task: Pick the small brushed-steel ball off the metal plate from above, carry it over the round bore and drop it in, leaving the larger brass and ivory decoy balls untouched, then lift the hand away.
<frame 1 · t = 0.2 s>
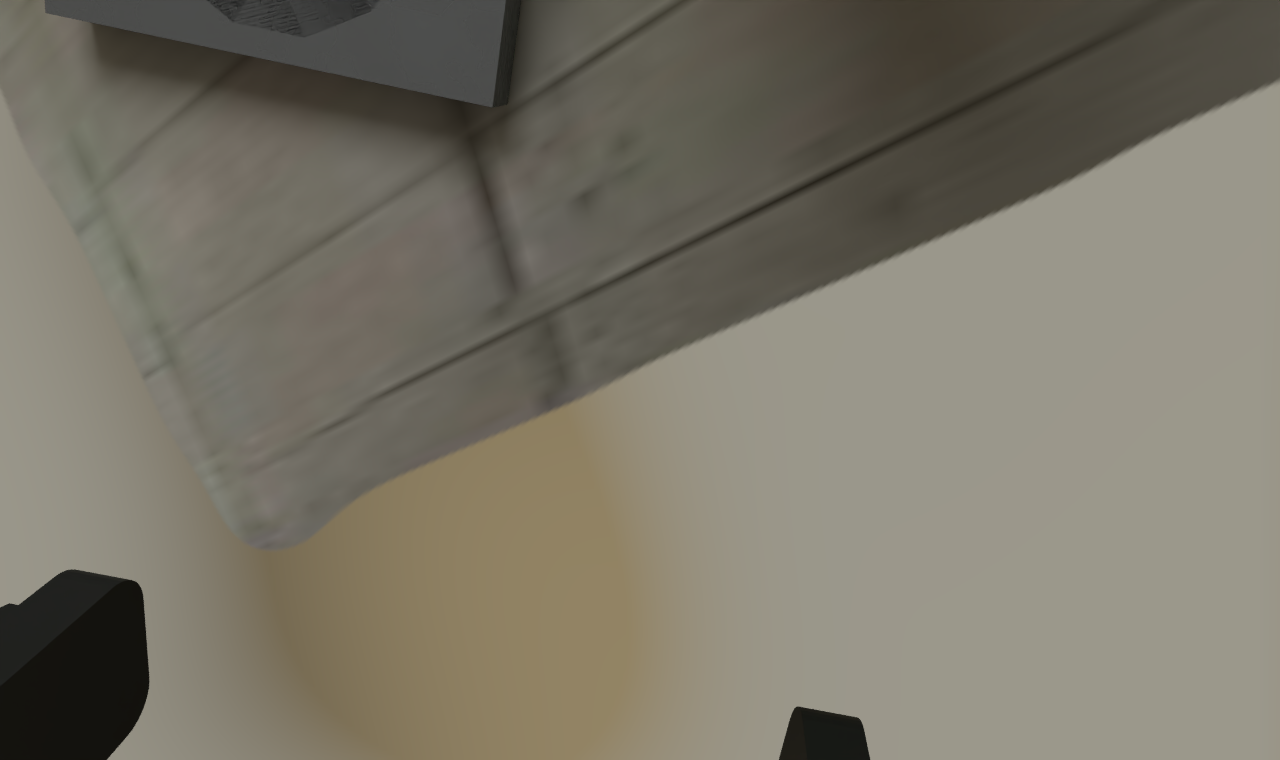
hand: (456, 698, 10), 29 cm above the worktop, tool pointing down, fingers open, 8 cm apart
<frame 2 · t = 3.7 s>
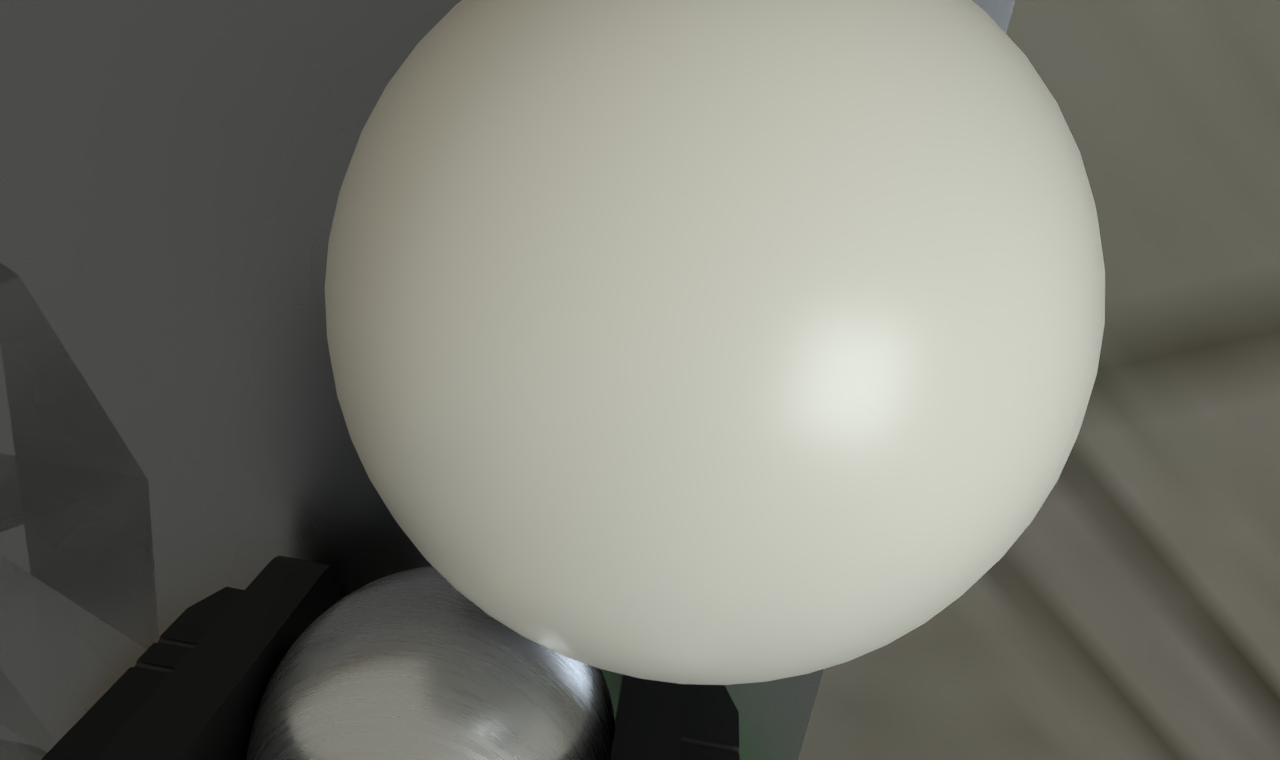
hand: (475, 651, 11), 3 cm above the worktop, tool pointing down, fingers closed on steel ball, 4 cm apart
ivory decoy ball: (702, 309, 7), point 5 cm above the worktop, touching plate
plate: (166, 471, 14), on the worktop
steel ball: (439, 746, 10), point 4 cm above the worktop, touching gripper, plate
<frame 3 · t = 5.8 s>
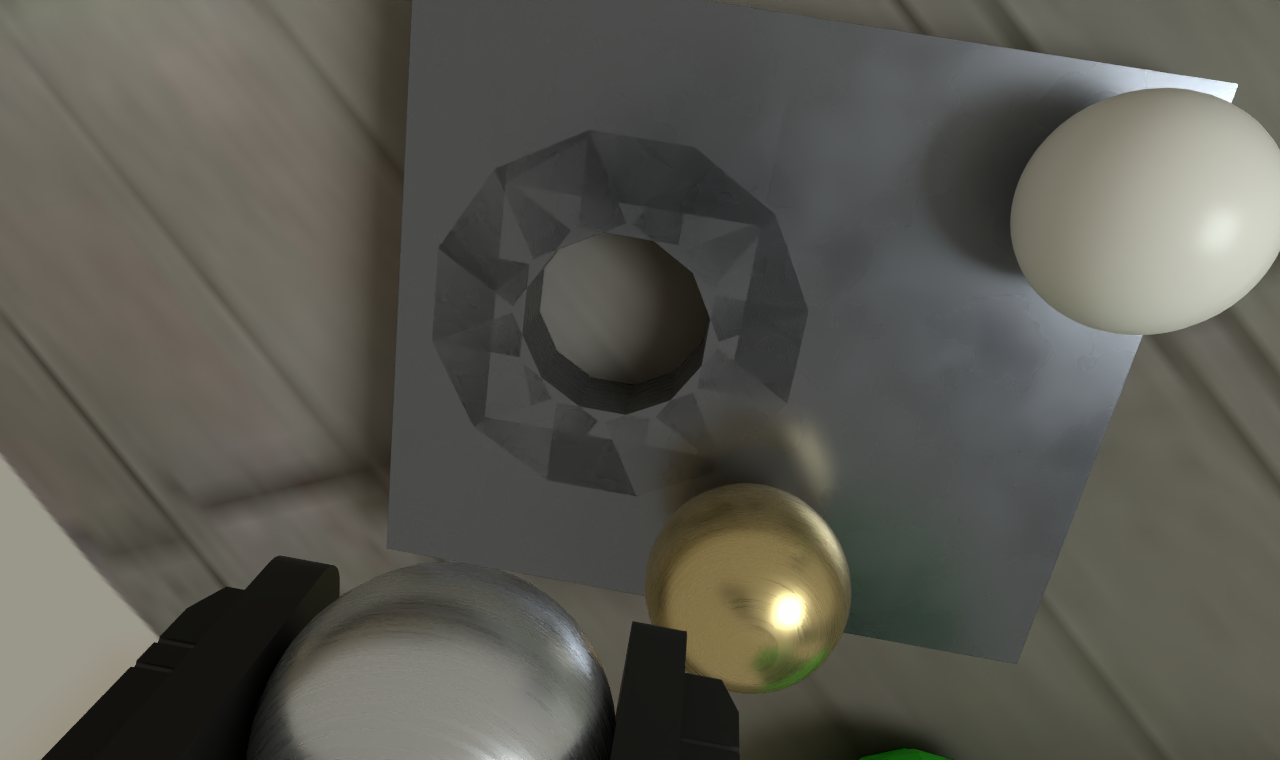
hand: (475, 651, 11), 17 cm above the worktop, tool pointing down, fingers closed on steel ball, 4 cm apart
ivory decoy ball: (1141, 214, 20), point 5 cm above the worktop, touching plate
plate: (748, 325, 27), on the worktop
steel ball: (439, 742, 10), point 19 cm above the worktop, touching gripper
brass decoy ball: (746, 585, 24), point 5 cm above the worktop, touching plate
when the fingers open (4 cm above the worktop, at t = 7.7 s): steel ball drops 3 cm, point 2 cm above the worktop.
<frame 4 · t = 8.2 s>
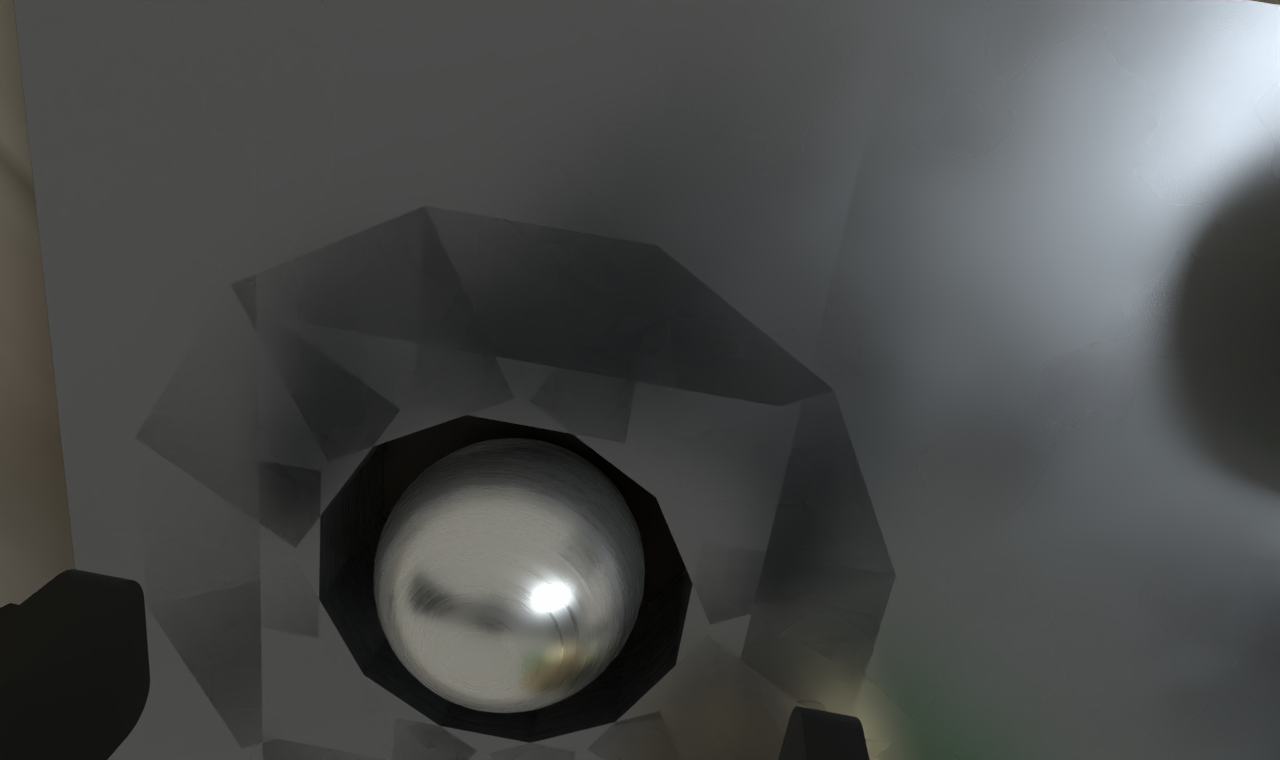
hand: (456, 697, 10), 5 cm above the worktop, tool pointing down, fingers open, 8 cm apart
plate: (765, 548, 15), on the worktop
steel ball: (512, 570, 13), point 2 cm above the worktop
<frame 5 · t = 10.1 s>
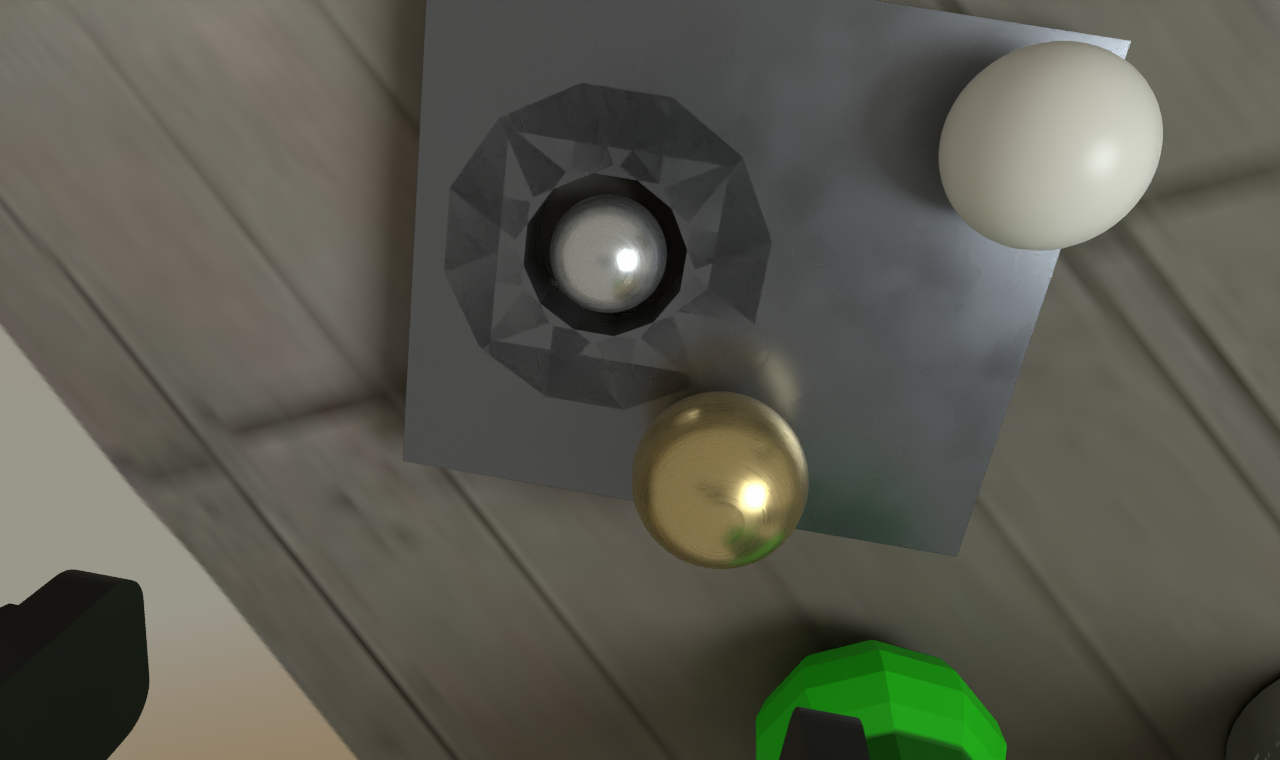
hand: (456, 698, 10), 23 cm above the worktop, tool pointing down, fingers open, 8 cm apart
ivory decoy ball: (1045, 148, 24), point 5 cm above the worktop, touching plate
plastic bottle: (859, 690, 38), on the worktop
plate: (721, 259, 31), on the worktop
steel ball: (608, 254, 29), point 2 cm above the worktop
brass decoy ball: (719, 479, 28), point 5 cm above the worktop, touching plate
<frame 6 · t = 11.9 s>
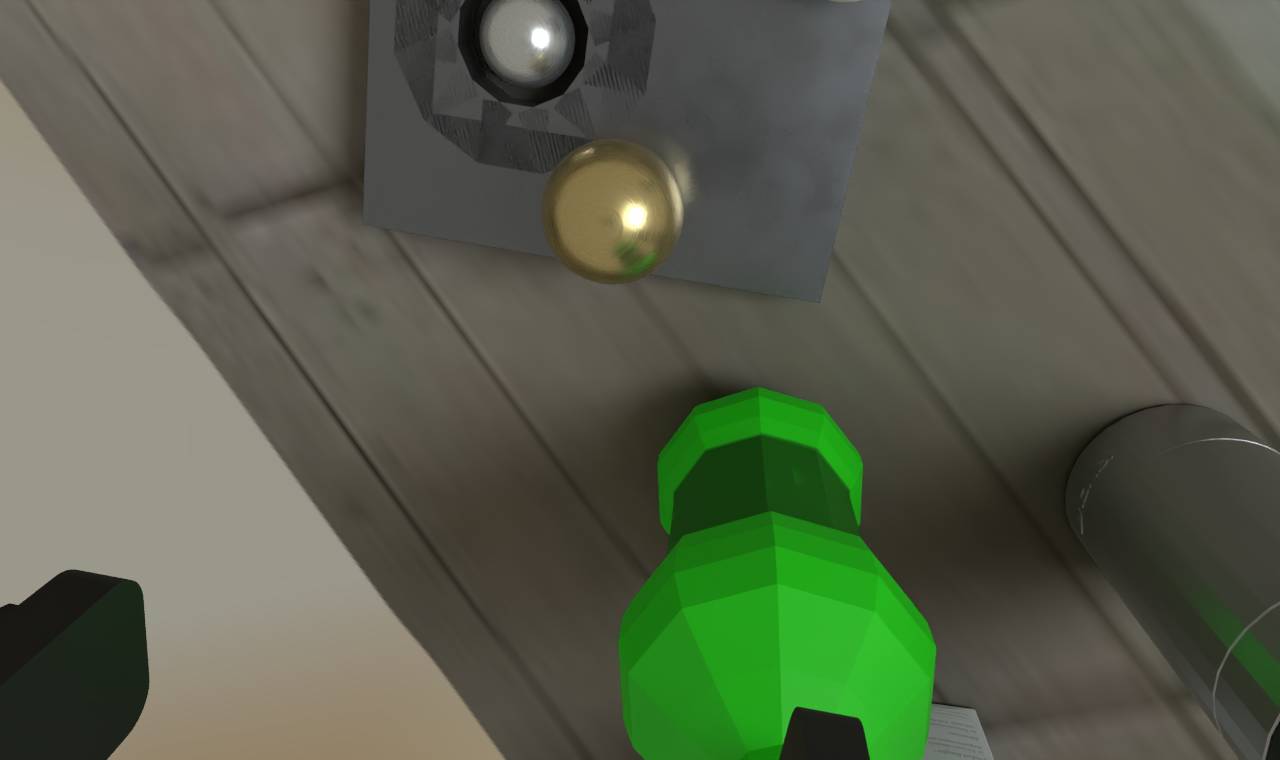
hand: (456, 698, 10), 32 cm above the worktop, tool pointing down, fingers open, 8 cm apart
plastic bottle: (755, 451, 44), on the worktop
supplement box: (879, 755, 51), on the worktop
plate: (623, 52, 38), on the worktop
steel ball: (527, 38, 36), point 2 cm above the worktop
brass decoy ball: (612, 212, 35), point 5 cm above the worktop, touching plate
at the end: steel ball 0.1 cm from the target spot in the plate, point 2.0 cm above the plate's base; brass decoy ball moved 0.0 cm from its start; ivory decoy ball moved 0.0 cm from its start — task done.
